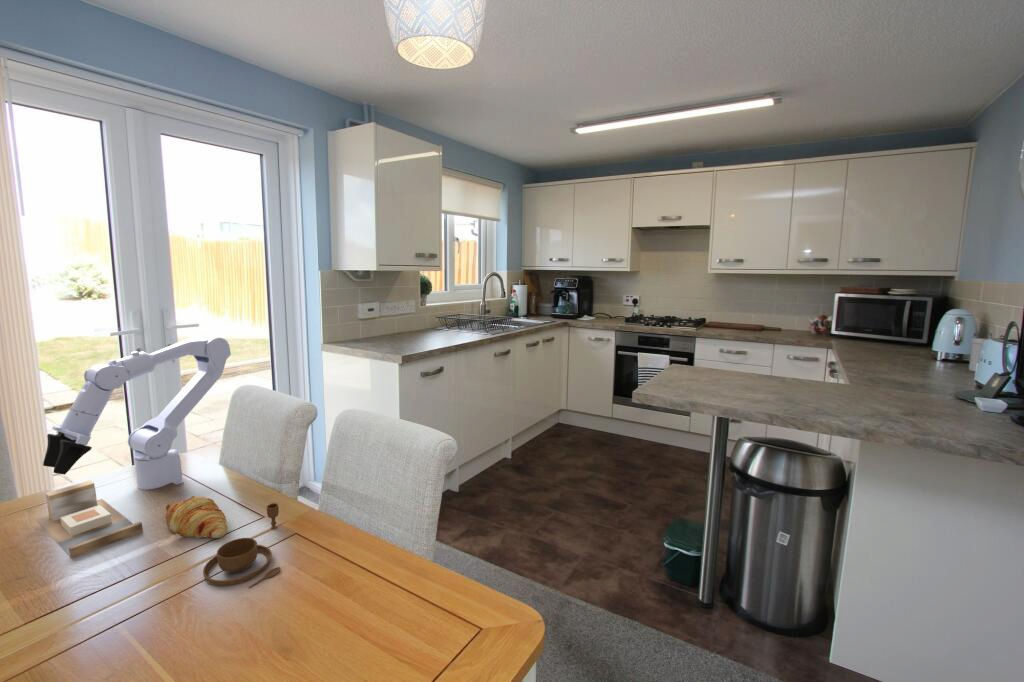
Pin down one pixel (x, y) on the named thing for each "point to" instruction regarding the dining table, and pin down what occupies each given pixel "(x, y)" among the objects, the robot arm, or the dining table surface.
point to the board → (91, 532)
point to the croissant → (196, 518)
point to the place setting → (242, 556)
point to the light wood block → (71, 499)
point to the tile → (85, 520)
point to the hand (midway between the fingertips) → (53, 469)
